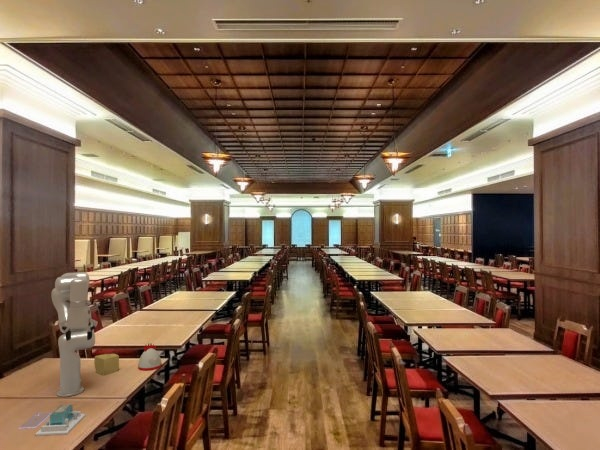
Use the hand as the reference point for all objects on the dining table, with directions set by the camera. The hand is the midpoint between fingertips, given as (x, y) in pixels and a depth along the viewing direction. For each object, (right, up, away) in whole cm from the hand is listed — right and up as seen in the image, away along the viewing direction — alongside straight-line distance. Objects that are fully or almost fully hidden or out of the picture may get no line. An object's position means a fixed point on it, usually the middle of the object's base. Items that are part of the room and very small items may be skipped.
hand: (79, 339), depth 199 cm
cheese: (-11, -35, +53) cm, 64 cm away
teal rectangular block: (+2, -32, -17) cm, 37 cm away
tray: (+2, -33, -18) cm, 37 cm away
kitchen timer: (+12, -35, +61) cm, 71 cm away
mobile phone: (-13, -34, -13) cm, 38 cm away
